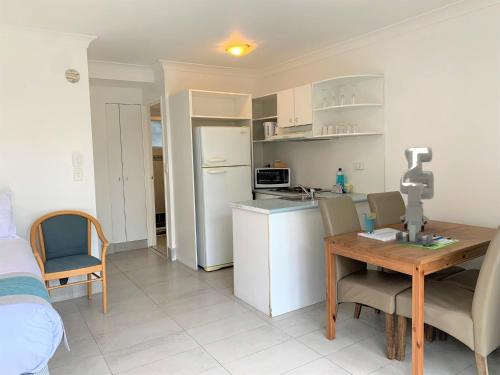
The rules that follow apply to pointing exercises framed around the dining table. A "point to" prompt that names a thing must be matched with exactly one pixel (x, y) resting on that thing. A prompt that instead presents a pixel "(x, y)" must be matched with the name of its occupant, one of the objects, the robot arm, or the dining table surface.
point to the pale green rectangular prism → (413, 231)
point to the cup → (369, 222)
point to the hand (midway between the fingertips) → (414, 230)
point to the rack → (418, 241)
